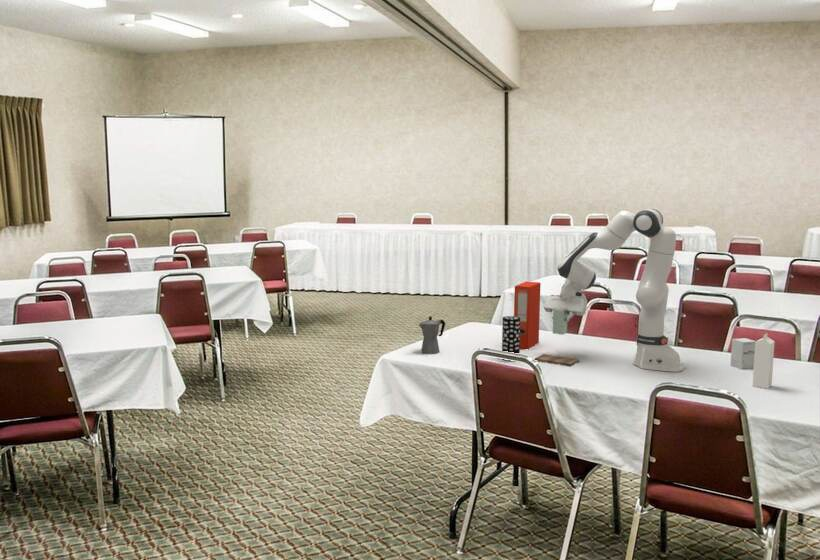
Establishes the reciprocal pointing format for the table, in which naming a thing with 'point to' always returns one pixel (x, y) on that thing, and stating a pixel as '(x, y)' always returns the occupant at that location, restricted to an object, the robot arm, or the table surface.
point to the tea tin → (560, 320)
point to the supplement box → (743, 353)
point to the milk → (763, 362)
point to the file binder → (528, 312)
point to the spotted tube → (511, 334)
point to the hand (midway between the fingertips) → (560, 319)
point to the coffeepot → (431, 335)
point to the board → (557, 360)
